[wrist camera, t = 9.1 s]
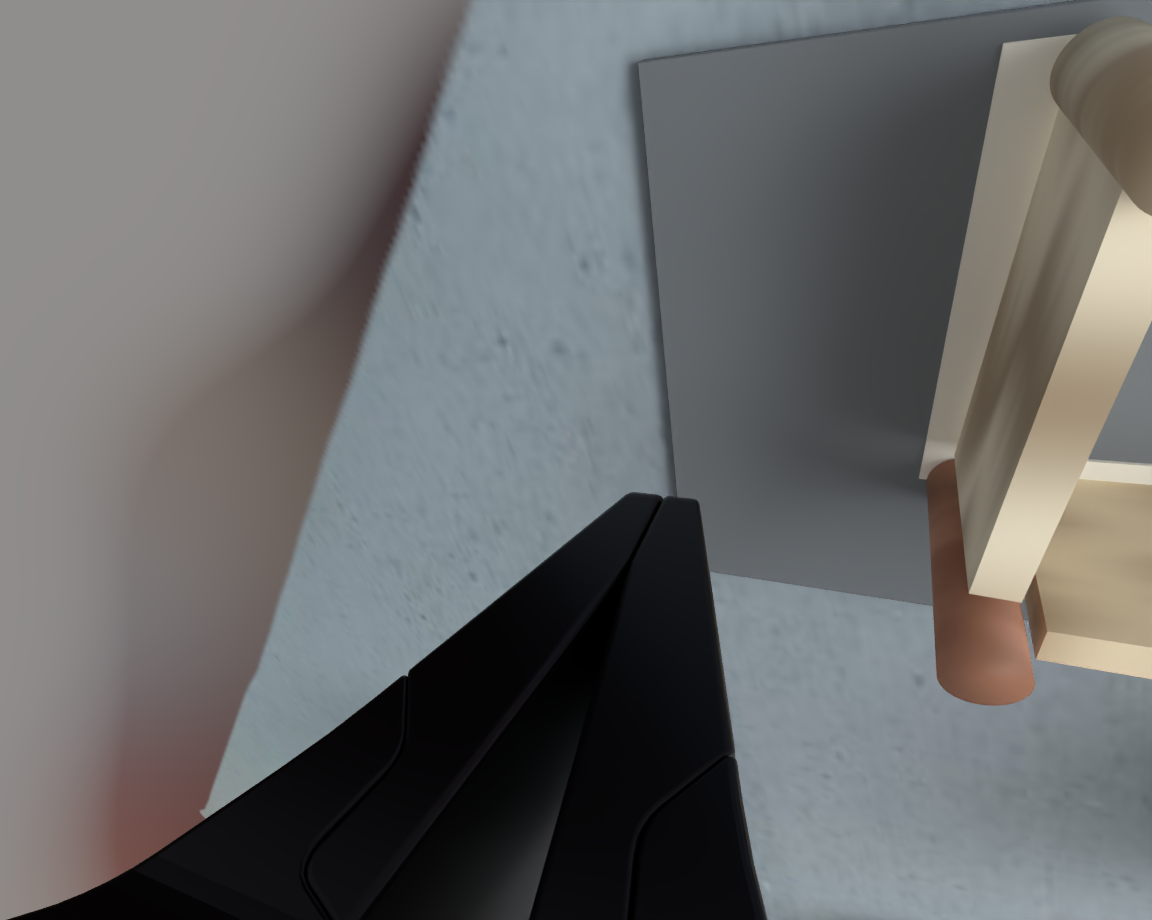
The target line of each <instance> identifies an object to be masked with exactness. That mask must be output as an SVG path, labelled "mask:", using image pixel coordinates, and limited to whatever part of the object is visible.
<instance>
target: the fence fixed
mask: <svg viewBox="0 0 1152 920" xmlns="http://www.w3.org/2000/svg"><path fill="white" fill-rule="evenodd" d="M926 483H927V501H928V520H929V539H930V557H931V576H932V595H933V614H934V632H935V651H936V670H937V679H938V682H939V683H940V685H941V686H942V687H943V688H944V689H945V690H946V691H947V692H948V693H950V694H951V695H953V696H955V697H957V698H959V699H962V700H964V701H968V702H971V703H975V704H981V705H1006V704H1011V703H1015V702H1018V701H1020V700H1023V699H1024V698H1026V697H1027V696H1029V695H1030V694H1031V693H1032V691H1033V689H1034V686H1035V681H1034V675H1033V670H1032V664H1031V658H1030V653H1029V647H1028V641H1027V636H1026V630H1025V625H1024V619H1023V613H1022V608H1021V603H1020V602H1014V601H1008V600H1003V599H997V598H991V597H986V596H980V595H974V594H969V592H968V582H967V573H966V563H965V554H964V544H963V535H962V525H961V516H960V506H959V497H958V487H957V478H956V468H955V459H951V460H948V461H945V462H942V463H940V464H939V465H937V466H936V467H935V468H933V469H932V470H931V472H930V473H929V475H928V477H927V480H926ZM1024 598H1025V604H1026V609H1027V614H1028V620H1029V625H1030V631H1031V636H1032V642H1033V647H1034V652H1035V658H1036V659H1037V660H1042V661H1048V662H1054V663H1060V664H1066V665H1072V666H1077V667H1083V668H1089V669H1095V670H1101V671H1107V672H1112V673H1118V674H1124V675H1130V676H1136V677H1142V678H1147V679H1152V485H1146V484H1134V483H1122V482H1110V481H1099V480H1087V479H1079V480H1078V482H1077V484H1076V486H1075V488H1074V491H1073V493H1072V495H1071V497H1070V499H1069V501H1068V504H1067V506H1066V508H1065V510H1064V512H1063V514H1062V517H1061V519H1060V521H1059V523H1058V525H1057V527H1056V530H1055V532H1054V534H1053V536H1052V538H1051V540H1050V543H1049V545H1048V547H1047V549H1046V551H1045V553H1044V556H1043V558H1042V560H1041V562H1040V564H1039V566H1038V569H1037V571H1036V573H1035V575H1034V577H1033V579H1032V582H1031V584H1030V586H1029V588H1028V590H1027V592H1026V595H1025V597H1024Z"/></svg>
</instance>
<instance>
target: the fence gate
mask: <svg viewBox="0 0 1152 920" xmlns="http://www.w3.org/2000/svg"><path fill="white" fill-rule="evenodd" d="M1050 91H1051V95H1052V97H1053V99H1054V101H1055V103H1056V104H1057V105H1058V107H1059V109H1058V112H1057V116H1056V119H1055V122H1054V126H1053V129H1052V132H1051V136H1050V139H1049V142H1048V146H1047V149H1046V152H1045V156H1044V159H1043V162H1042V166H1041V169H1040V172H1039V176H1038V179H1037V182H1036V185H1035V189H1034V192H1033V195H1032V199H1031V202H1030V205H1029V209H1028V212H1027V215H1026V219H1025V222H1024V225H1023V229H1022V232H1021V235H1020V239H1019V242H1018V245H1017V249H1016V252H1015V255H1014V259H1013V262H1012V265H1011V268H1010V272H1009V275H1008V278H1007V282H1006V285H1005V288H1004V292H1003V295H1002V298H1001V302H1000V305H999V308H998V312H997V315H996V318H995V322H994V325H993V328H992V332H991V335H990V338H989V341H988V345H987V348H986V351H985V355H984V358H983V361H982V365H981V368H980V371H979V375H978V378H977V381H976V385H975V388H974V391H973V395H972V398H971V401H970V405H969V408H968V411H967V414H966V418H965V421H964V424H963V428H962V431H961V434H960V438H959V441H958V444H957V448H956V451H955V454H954V459H955V468H956V478H957V487H958V497H959V506H960V516H961V525H962V535H963V544H964V554H965V563H966V573H967V582H968V592H969V594H974V595H980V596H986V597H991V598H997V599H1003V600H1008V601H1014V602H1020V603H1022V601H1023V599H1024V597H1025V595H1026V592H1027V590H1028V588H1029V586H1030V584H1031V582H1032V579H1033V577H1034V575H1035V573H1036V571H1037V569H1038V566H1039V564H1040V562H1041V560H1042V558H1043V556H1044V553H1045V551H1046V549H1047V547H1048V545H1049V543H1050V540H1051V538H1052V536H1053V534H1054V532H1055V530H1056V527H1057V525H1058V523H1059V521H1060V519H1061V517H1062V514H1063V512H1064V510H1065V508H1066V506H1067V504H1068V501H1069V499H1070V497H1071V495H1072V493H1073V491H1074V488H1075V486H1076V484H1077V482H1078V480H1079V477H1080V475H1081V473H1082V471H1083V469H1084V467H1085V464H1086V462H1087V460H1088V458H1089V456H1090V454H1091V451H1092V449H1093V447H1094V445H1095V443H1096V441H1097V438H1098V436H1099V434H1100V432H1101V430H1102V428H1103V425H1104V423H1105V421H1106V419H1107V417H1108V415H1109V412H1110V410H1111V408H1112V406H1113V404H1114V402H1115V399H1116V397H1117V395H1118V393H1119V391H1120V389H1121V386H1122V384H1123V382H1124V380H1125V378H1126V376H1127V373H1128V371H1129V369H1130V367H1131V365H1132V363H1133V360H1134V358H1135V356H1136V354H1137V352H1138V349H1139V347H1140V345H1141V343H1142V341H1143V339H1144V336H1145V334H1146V332H1147V330H1148V328H1149V326H1150V323H1151V321H1152V25H1150V24H1148V23H1146V22H1144V21H1142V20H1140V19H1138V18H1134V17H1128V16H1118V17H1112V18H1108V19H1104V20H1102V21H1099V22H1096V23H1094V24H1092V25H1090V26H1089V27H1087V28H1085V29H1084V30H1082V31H1081V32H1080V33H1078V34H1077V35H1076V36H1075V37H1074V38H1073V39H1071V40H1070V41H1069V43H1068V44H1067V45H1066V46H1065V47H1064V48H1063V50H1062V51H1061V52H1060V54H1059V56H1058V57H1057V59H1056V61H1055V63H1054V65H1053V68H1052V71H1051V76H1050Z"/></svg>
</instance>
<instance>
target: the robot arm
mask: <svg viewBox="0 0 1152 920" xmlns="http://www.w3.org/2000/svg"><path fill="white" fill-rule="evenodd" d="M8 920H768V919H767V915H766V911H765V907H764V903H763V899H762V895H761V891H760V887H759V882H758V878H757V874H756V870H755V866H754V861H753V856H752V850H751V845H750V839H749V833H748V828H747V822H746V817H745V811H744V806H743V800H742V793H741V786H740V779H739V772H738V765H737V761H736V759H735V747H734V740H733V733H732V726H731V719H730V712H729V705H728V698H727V691H726V684H725V677H724V670H723V663H722V656H721V649H720V642H719V635H718V628H717V621H716V614H715V607H714V600H713V593H712V586H711V580H710V573H709V566H708V559H707V552H706V545H705V538H704V531H703V524H702V517H701V510H700V504H699V502H698V501H697V500H696V499H691V498H682V497H673V496H668V497H666V498H664V499H663V498H662V497H661V496H659V495H655V494H646V493H637V492H632V493H629V494H627V495H625V496H624V497H623V498H621V499H620V500H619V501H618V502H616V503H615V504H614V505H613V506H611V507H610V508H609V509H608V510H606V511H605V512H604V513H603V514H602V515H600V516H599V517H598V518H597V519H595V520H594V521H593V522H592V523H590V524H589V525H588V526H587V527H586V528H584V529H583V530H582V531H581V532H579V533H578V534H577V535H576V536H574V537H573V538H572V539H571V540H569V541H568V542H567V543H566V544H565V545H563V546H562V547H561V548H560V549H558V550H557V551H556V552H555V553H553V554H552V555H551V556H550V557H548V558H547V559H546V560H545V561H544V562H542V563H541V564H540V565H539V566H537V567H536V568H535V569H534V570H532V571H531V572H530V573H529V574H527V575H526V576H525V577H524V578H523V579H521V580H520V581H519V582H518V583H516V584H515V585H514V586H513V587H511V588H510V589H509V590H508V591H507V592H505V593H504V594H503V595H502V596H500V597H499V598H498V599H497V600H495V601H494V602H493V603H492V604H490V605H489V606H488V607H487V608H486V609H484V610H483V611H482V612H481V613H479V614H478V615H477V616H476V617H474V618H473V619H472V620H471V621H469V622H468V623H467V624H466V625H465V626H463V627H462V628H461V629H460V630H458V631H457V632H456V633H455V634H453V635H452V636H451V637H450V638H449V639H447V640H446V641H445V642H444V643H442V644H441V645H440V646H439V647H437V648H436V649H435V650H434V651H432V652H431V653H430V654H429V655H428V656H426V657H425V658H424V659H423V660H421V661H420V662H419V663H418V664H416V665H415V666H414V667H413V668H411V669H410V670H409V673H408V677H407V676H405V675H404V676H401V677H400V678H399V679H398V680H396V681H395V682H394V683H393V684H391V685H390V686H389V687H388V688H386V689H385V690H384V691H383V692H381V693H380V694H379V695H378V696H377V697H375V698H374V699H373V700H371V701H370V702H369V703H368V704H366V705H365V706H364V707H362V708H361V709H360V710H359V711H357V712H356V713H355V714H353V715H352V716H351V717H349V718H348V719H347V720H346V721H344V722H343V723H342V724H340V725H339V726H338V727H337V728H335V729H334V730H333V731H331V732H330V733H329V734H327V735H326V736H324V737H323V738H322V739H320V740H319V741H317V742H316V743H315V744H313V745H312V746H310V747H309V748H308V749H306V750H305V751H303V752H302V753H301V754H299V755H298V756H296V757H295V758H294V759H292V760H291V761H289V762H288V763H287V764H285V765H284V766H282V767H281V768H279V769H278V770H277V771H275V772H274V773H272V774H271V775H269V776H268V777H266V778H265V779H263V780H262V781H260V782H259V783H258V784H256V785H255V786H253V787H252V788H250V789H249V790H247V791H246V792H244V793H243V794H241V795H240V796H238V797H237V798H236V799H234V800H233V801H231V802H230V803H228V804H227V805H225V806H224V807H222V808H221V809H219V810H218V811H216V812H215V813H214V814H212V815H211V816H209V817H208V818H206V819H205V820H204V821H202V822H200V823H199V824H198V825H196V826H195V827H193V828H192V829H190V830H189V831H187V832H186V833H184V834H183V835H181V836H180V837H178V838H177V839H176V840H174V841H173V842H171V843H170V844H168V845H167V846H165V847H164V848H162V849H161V850H159V851H158V852H156V853H155V854H153V855H152V856H150V857H149V858H147V859H146V860H144V861H143V862H141V863H139V864H138V865H136V866H135V867H133V868H131V869H129V870H128V871H126V872H124V873H122V874H120V875H119V876H117V877H115V878H113V879H111V880H110V881H108V882H106V883H103V884H101V885H100V886H97V887H95V888H93V889H91V890H89V891H87V892H85V893H83V894H80V895H78V896H75V897H73V898H70V899H68V900H65V901H63V902H60V903H58V904H55V905H52V906H49V907H46V908H43V909H40V910H37V911H34V912H30V913H27V914H24V915H21V916H17V917H14V918H11V919H8Z"/></svg>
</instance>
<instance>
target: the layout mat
mask: <svg viewBox="0 0 1152 920" xmlns="http://www.w3.org/2000/svg"><path fill="white" fill-rule="evenodd" d="M1118 16H1128V17H1134V18H1138V19H1140V20H1142V21H1144V22H1146V23H1148V24H1150V25H1152V0H1076V1H1069V2H1062V3H1054V4H1047V5H1040V6H1032V7H1025V8H1018V9H1010V10H1003V11H996V12H989V13H981V14H974V15H967V16H959V17H952V18H945V19H938V20H930V21H923V22H916V23H908V24H901V25H894V26H887V27H879V28H872V29H865V30H857V31H850V32H843V33H836V34H828V35H821V36H814V37H806V38H799V39H792V40H785V41H777V42H770V43H763V44H755V45H748V46H741V47H734V48H726V49H719V50H712V51H704V52H697V53H690V54H683V55H675V56H668V57H661V58H653V59H646V60H642V61H640V62H639V63H638V68H639V79H640V90H641V101H642V112H643V123H644V134H645V145H646V156H647V167H648V178H649V189H650V201H651V212H652V223H653V234H654V245H655V256H656V267H657V278H658V289H659V300H660V311H661V322H662V333H663V344H664V355H665V366H666V377H667V389H668V400H669V411H670V422H671V433H672V444H673V455H674V466H675V477H676V488H677V497H682V498H691V499H696V500H697V501H698V502H699V504H700V510H701V517H702V524H703V531H704V538H705V545H706V552H707V559H708V566H709V572H716V573H722V574H729V575H735V576H742V577H748V578H755V579H761V580H768V581H774V582H781V583H787V584H794V585H800V586H807V587H813V588H820V589H826V590H833V591H839V592H846V593H852V594H859V595H865V596H872V597H878V598H885V599H891V600H898V601H904V602H911V603H917V604H924V605H930V606H933V595H932V576H931V557H930V539H929V520H928V501H927V483H926V480H927V477H928V475H929V473H930V472H931V470H932V469H933V468H935V467H936V466H937V465H939V464H940V463H942V462H945V461H948V460H951V459H954V454H955V451H956V448H957V444H958V441H959V438H960V434H961V431H962V428H963V424H964V421H965V418H966V414H967V411H968V408H969V405H970V401H971V398H972V395H973V391H974V388H975V385H976V381H977V378H978V375H979V371H980V368H981V365H982V361H983V358H984V355H985V351H986V348H987V345H988V341H989V338H990V335H991V332H992V328H993V325H994V322H995V318H996V315H997V312H998V308H999V305H1000V302H1001V298H1002V295H1003V292H1004V288H1005V285H1006V282H1007V278H1008V275H1009V272H1010V268H1011V265H1012V262H1013V259H1014V255H1015V252H1016V249H1017V245H1018V242H1019V239H1020V235H1021V232H1022V229H1023V225H1024V222H1025V219H1026V215H1027V212H1028V209H1029V205H1030V202H1031V199H1032V195H1033V192H1034V189H1035V185H1036V182H1037V179H1038V176H1039V172H1040V169H1041V166H1042V162H1043V159H1044V156H1045V152H1046V149H1047V146H1048V142H1049V139H1050V136H1051V132H1052V129H1053V126H1054V122H1055V119H1056V116H1057V112H1058V109H1059V107H1058V105H1057V104H1056V103H1055V101H1054V99H1053V97H1052V95H1051V91H1050V76H1051V71H1052V68H1053V65H1054V63H1055V61H1056V59H1057V57H1058V56H1059V54H1060V52H1061V51H1062V50H1063V48H1064V47H1065V46H1066V45H1067V44H1068V43H1069V41H1070V40H1071V39H1073V38H1074V37H1075V36H1076V35H1077V34H1078V33H1080V32H1081V31H1082V30H1084V29H1085V28H1087V27H1089V26H1090V25H1092V24H1094V23H1096V22H1099V21H1102V20H1104V19H1108V18H1112V17H1118ZM1079 479H1087V480H1099V481H1110V482H1122V483H1134V484H1146V485H1152V321H1151V323H1150V326H1149V328H1148V330H1147V332H1146V334H1145V336H1144V339H1143V341H1142V343H1141V345H1140V347H1139V349H1138V352H1137V354H1136V356H1135V358H1134V360H1133V363H1132V365H1131V367H1130V369H1129V371H1128V373H1127V376H1126V378H1125V380H1124V382H1123V384H1122V386H1121V389H1120V391H1119V393H1118V395H1117V397H1116V399H1115V402H1114V404H1113V406H1112V408H1111V410H1110V412H1109V415H1108V417H1107V419H1106V421H1105V423H1104V425H1103V428H1102V430H1101V432H1100V434H1099V436H1098V438H1097V441H1096V443H1095V445H1094V447H1093V449H1092V451H1091V454H1090V456H1089V458H1088V460H1087V462H1086V464H1085V467H1084V469H1083V471H1082V473H1081V475H1080V477H1079ZM1021 608H1022V613H1023V619H1024V620H1028V614H1027V609H1026V604H1025V598H1024V599H1023V601H1022V603H1021ZM1028 621H1029V620H1028Z"/></svg>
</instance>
